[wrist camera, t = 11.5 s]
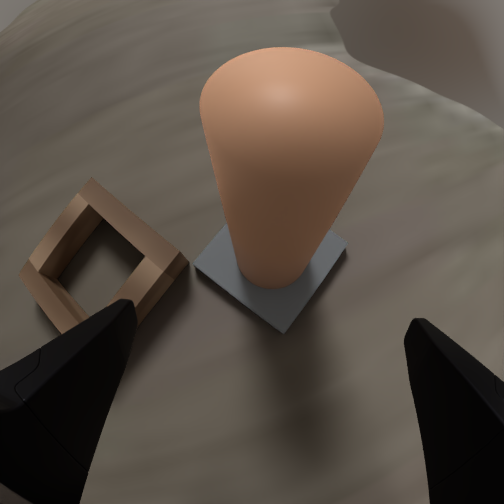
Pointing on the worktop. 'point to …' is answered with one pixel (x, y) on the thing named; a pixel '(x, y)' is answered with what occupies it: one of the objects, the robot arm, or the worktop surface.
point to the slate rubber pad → (260, 299)
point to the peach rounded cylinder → (286, 153)
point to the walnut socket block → (73, 237)
